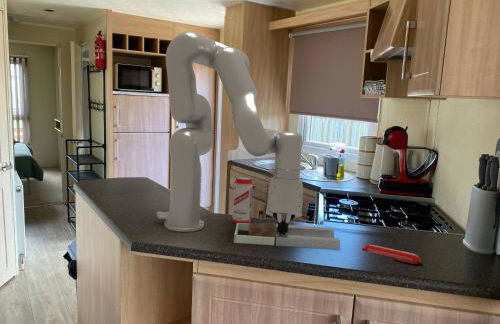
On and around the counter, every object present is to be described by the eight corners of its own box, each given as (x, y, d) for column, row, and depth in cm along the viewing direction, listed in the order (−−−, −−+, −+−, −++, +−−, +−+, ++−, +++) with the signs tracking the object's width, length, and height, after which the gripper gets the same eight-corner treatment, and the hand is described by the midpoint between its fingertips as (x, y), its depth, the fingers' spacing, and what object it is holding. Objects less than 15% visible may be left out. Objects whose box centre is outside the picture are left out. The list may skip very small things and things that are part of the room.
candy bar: (422, 263, 108) (423, 253, 108) (420, 268, 105) (422, 257, 105) (363, 250, 116) (364, 240, 115) (360, 254, 113) (361, 244, 112)
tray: (233, 245, 112) (234, 235, 112) (236, 232, 124) (237, 222, 124) (273, 248, 112) (274, 238, 112) (272, 234, 124) (273, 225, 124)
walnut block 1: (248, 240, 116) (248, 227, 115) (248, 235, 120) (249, 223, 119) (261, 240, 116) (262, 227, 115) (262, 236, 120) (262, 223, 119)
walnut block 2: (261, 240, 116) (262, 227, 115) (262, 235, 120) (262, 223, 119) (275, 240, 116) (276, 227, 115) (275, 236, 120) (275, 223, 119)
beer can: (248, 228, 129) (251, 180, 127) (229, 226, 130) (232, 178, 128) (252, 222, 135) (255, 177, 133) (234, 220, 136) (236, 175, 134)
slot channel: (275, 248, 112) (276, 236, 112) (274, 234, 124) (275, 224, 123) (339, 253, 112) (340, 241, 111) (332, 238, 123) (333, 228, 123)
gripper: (261, 174, 111) (257, 237, 114) (314, 178, 111) (308, 240, 114) (261, 170, 119) (257, 229, 122) (310, 173, 118) (306, 232, 121)
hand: (282, 234), depth 118 cm, fingers closed
